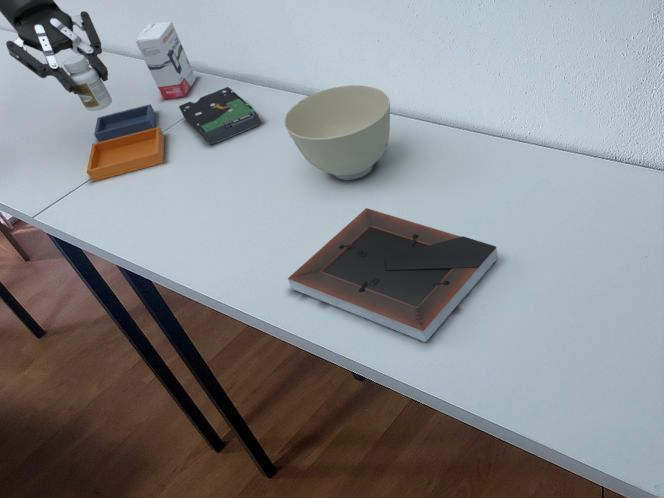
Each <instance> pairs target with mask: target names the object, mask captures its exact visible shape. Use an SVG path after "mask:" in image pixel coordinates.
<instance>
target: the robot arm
mask: <svg viewBox="0 0 664 498" xmlns="http://www.w3.org/2000/svg"><path fill="white" fill-rule="evenodd" d="M0 13H1V14H2V16H3V17H4V18H5V19H6V20H7V22H8V23H9V24H10V25H11V26H12V28H13V29H14V31H15V32H17V33H16V34H17V38H16V39H14V40H8V41H6V43H5V45H6V48H7V50H8V51H7V52H8V53H9V55H10V56H11V57H12V58H13V59H15V60H16V61H17V62H19V63H20V64H22V65H23V66H24V67H26V68H27V69H28V70H30V71H31V72H32V73H33V74H35V75H36V76H38V77H39V78H41V79H45V78H47V77H54V78H55V79H56V80H57V81H58V82H59V83H60V85H61V86H62V87H63V88H64V89H65V91H66V92H68V93H69V94H70V93H73V94H74V96H75V95H77V94H78V93H79V88H78V86H77V85H76V84H75V82H74V81H73V80H72V79H71V78H70V74H68V72H67V71H66V69H64V68H63V67H62V66H61V67H60V66H59V63H58V60H57V58H56V55H57V54H59V53H60V52H61V51H65V50H71V51H72V52H74V53H75V54H76V55H84V56H85V58H86V60H87V61H88V64H89V67H90V68H93V69H95V70H96V72H97V73H98V75H99V77H100V78H101V80H102V82H106V81H108V80H109V70H108V68H107V65H105V64H104V62H103V61H102V60H101V59H100V57H99V56H98V55H101V54H102V53H103V49H102V42H101V40H100V36H99V34H98V32H97V30H96V28H95V25H94V23H93V21H92V19H91V17H90V13H88V12H87V11H81V12H80V14H79V15H69V13H67V12H66V11H63V10H62V9H61V8H60V7H59V5H58V4H57V3H56V1H55V0H0ZM74 26H77V27H78V29H79V30H81V31H82V32H85V34H86V36H87V38H88V40H89V44H88V43H86V42H85V41H84V40H83V39H82V38H81V36H79V35H78V34H76V33H75V32H74ZM26 46H27V47H29V48H32V49H35V50H37V51H39V52H41V53H42V54H43V56H44V59H45V61H46V63H43V62H41V61H40V60H39V59H37V58H36V57H34V56H33V55H32V54H31V53H29V52H28V50H27V47H26Z"/></svg>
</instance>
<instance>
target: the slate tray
mask: <svg viewBox="0 0 664 498" xmlns="http://www.w3.org/2000/svg"><path fill="white" fill-rule="evenodd" d="M155 125H156V112H155V110H154V108H153V106H152V104H149V103H148V104H145V105H142V106H141V105H140V106H138V107H135V108H130V109H126V110H121V111H118V112H114V113H110V114H105V115H103V116H102V115H101V116H98V117H97V118H96V123H95V128H94V133H93V136H94V137H95V138H96V140H97V143H98V142H102V141H106V140H110V139H114V138H118V137H121V136H125V135H129V134H133V133H137V132H141V131H145V130H149V129H153V128H156V127H155Z"/></svg>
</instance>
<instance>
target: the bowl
mask: <svg viewBox="0 0 664 498" xmlns="http://www.w3.org/2000/svg"><path fill="white" fill-rule="evenodd" d="M283 123H284V127H285V130H286V131H287V133H288V135H289V136H290V138H291V139H292V141H293V142H294V144H295V146H296V147H297V148H298V150H299V152H300V153H301V154H302V156H303V157H304V158H305V159H306V160H307V161H308V163H309V164H311V165H312V166H313V167H315V168H316V169H318V170H320V171H322V172H324V173H327V174H330V175H334V176H335V177H336V178H337V179H340V180H343V181H351V180H358V179H360V178H364V177H365V176H366V175H368V174H369V173H370V172H371V171H372V169H373V168H374V164H376V163H377V162H378V161H379V160H380V158H381V157H382V156H383V155H384V153H385V151H386V149H387V146H388V143H389V139H390V131H391V130H390V129H391V102H390V98H389V96H388V94H387V93H385V92H384V91H382V90H381V89H379V88H376V87H373V86H369V85H359V84H358V85H357V84H356V85H355V84H354V85H352V84H351V85H342V86H336V87H331V88H327V89H324V90H320V91H318V92H315V93H313V94H310V95H308V96H307V97H304V98H302V99H301V100H300V101H298V102H297V103H295V104H294V105H293V106H291V108H290V109H289V110H288V111H287V113H286V115H285V116H284V121H283Z"/></svg>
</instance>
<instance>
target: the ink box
mask: <svg viewBox="0 0 664 498" xmlns="http://www.w3.org/2000/svg"><path fill="white" fill-rule="evenodd" d="M135 44H136V46H137V48H138V50H139V52H140V54H141V56H142V58H143V60H144V61H145V64H146V66H147V68H148V70H149V72H150V74H151V76H152V78H153V80H154V82H155V84H156V86H157V88H158V90H159V93H160V94H161V96H162V98H163V100H170V99H177V98H184V97H187V95H188V93H189V91H190V89H191V87H192V86H193V85H194V83H195V81H196V79H197V77H196V75H195V73H194V69H193V67H192V65H191V63H190V60H189V58H188V56H187V53H186V51H185V49H184V46H183V44H182V42H181V40H180V38H179V35H178V33H177V31H176V28H175V26H174V23H173V22H172V21H165V22H151V23H148V24H147V25H146V26H145V27H144V28H143V30H141V32H140V33H139V35H138V36H137V38H136V40H135Z"/></svg>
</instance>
